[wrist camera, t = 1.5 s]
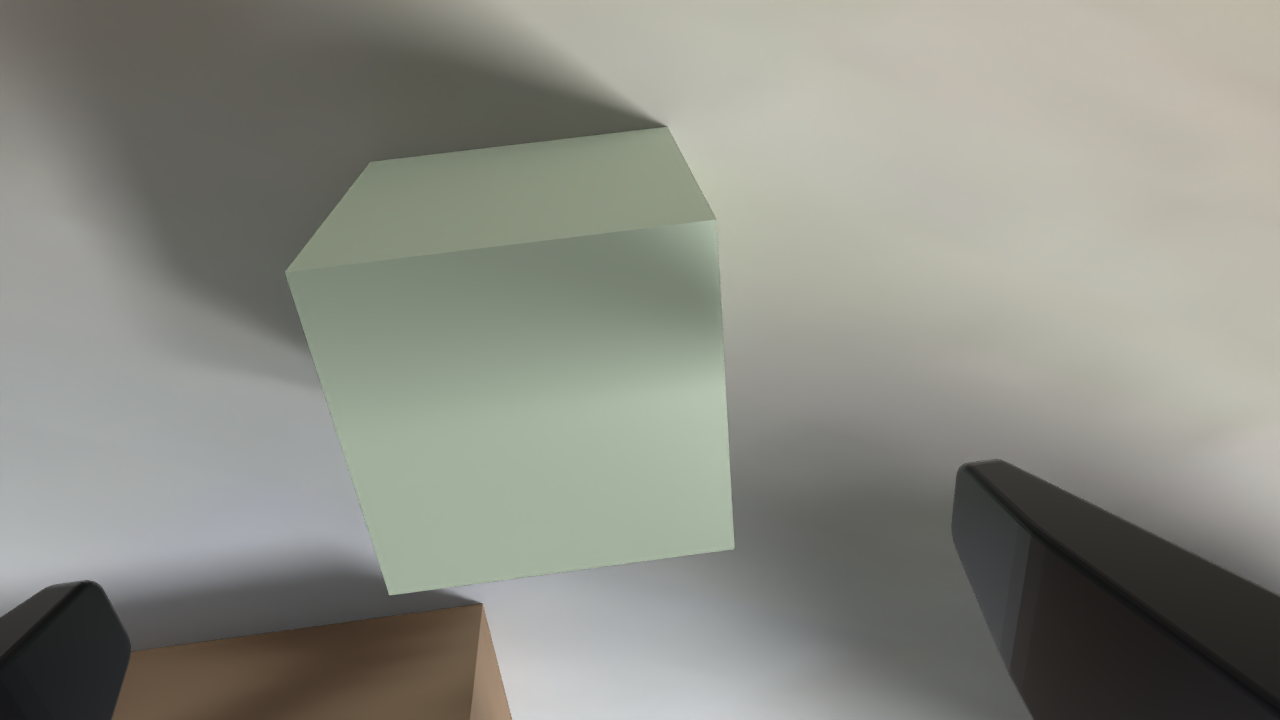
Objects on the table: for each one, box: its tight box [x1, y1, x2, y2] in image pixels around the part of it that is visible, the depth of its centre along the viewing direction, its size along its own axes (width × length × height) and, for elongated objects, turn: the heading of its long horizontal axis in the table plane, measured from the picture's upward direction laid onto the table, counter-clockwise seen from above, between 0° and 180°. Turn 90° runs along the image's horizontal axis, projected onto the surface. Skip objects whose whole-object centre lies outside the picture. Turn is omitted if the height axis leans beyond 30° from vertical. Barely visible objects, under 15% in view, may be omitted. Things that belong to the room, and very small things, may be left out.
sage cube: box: [285, 127, 735, 596], centre depth 13 cm, size 5×5×5 cm
